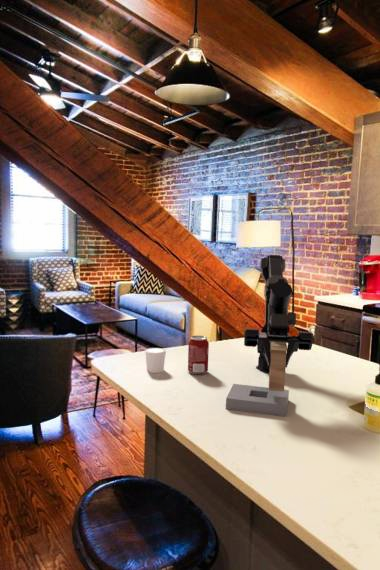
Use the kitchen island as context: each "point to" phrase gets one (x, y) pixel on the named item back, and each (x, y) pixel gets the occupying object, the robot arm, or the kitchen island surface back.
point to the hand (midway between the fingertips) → (277, 366)
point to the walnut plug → (277, 366)
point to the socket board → (257, 400)
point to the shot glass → (155, 359)
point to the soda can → (198, 355)
